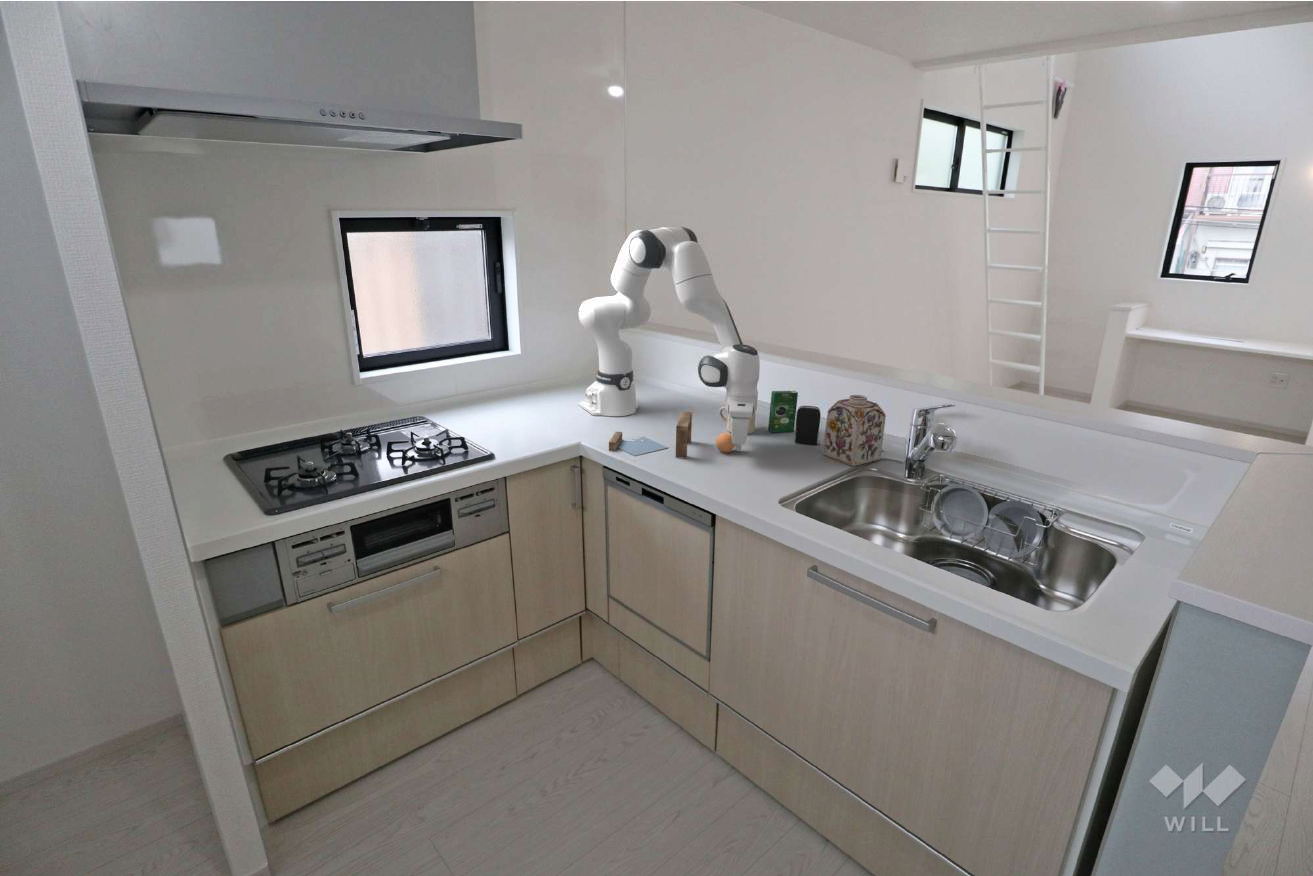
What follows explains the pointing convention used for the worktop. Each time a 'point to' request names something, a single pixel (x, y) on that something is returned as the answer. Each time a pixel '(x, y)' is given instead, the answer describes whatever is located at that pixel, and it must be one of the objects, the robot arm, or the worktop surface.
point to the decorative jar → (854, 431)
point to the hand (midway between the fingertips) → (738, 449)
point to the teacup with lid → (751, 424)
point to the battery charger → (807, 425)
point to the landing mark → (640, 446)
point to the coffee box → (782, 411)
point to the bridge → (683, 433)
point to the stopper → (615, 441)
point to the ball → (725, 442)
